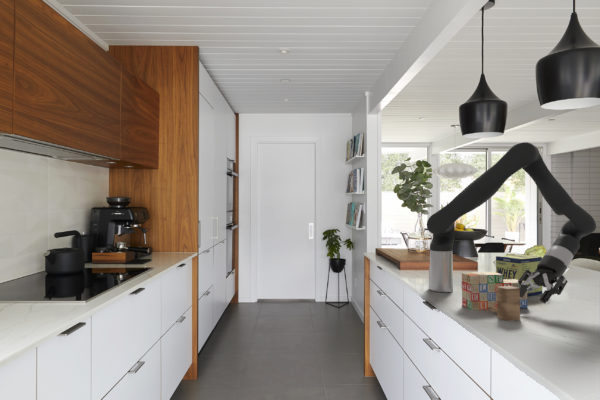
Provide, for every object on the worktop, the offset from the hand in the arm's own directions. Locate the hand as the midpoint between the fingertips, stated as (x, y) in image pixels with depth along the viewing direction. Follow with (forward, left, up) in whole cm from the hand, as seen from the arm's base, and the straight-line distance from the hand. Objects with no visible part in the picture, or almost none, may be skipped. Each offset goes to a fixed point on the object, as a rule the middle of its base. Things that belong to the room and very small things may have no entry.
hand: (530, 298), depth 126 cm
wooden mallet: (-3, -9, -6) cm, 11 cm away
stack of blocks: (-13, -1, -6) cm, 15 cm away
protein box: (-26, +25, -6) cm, 37 cm away
